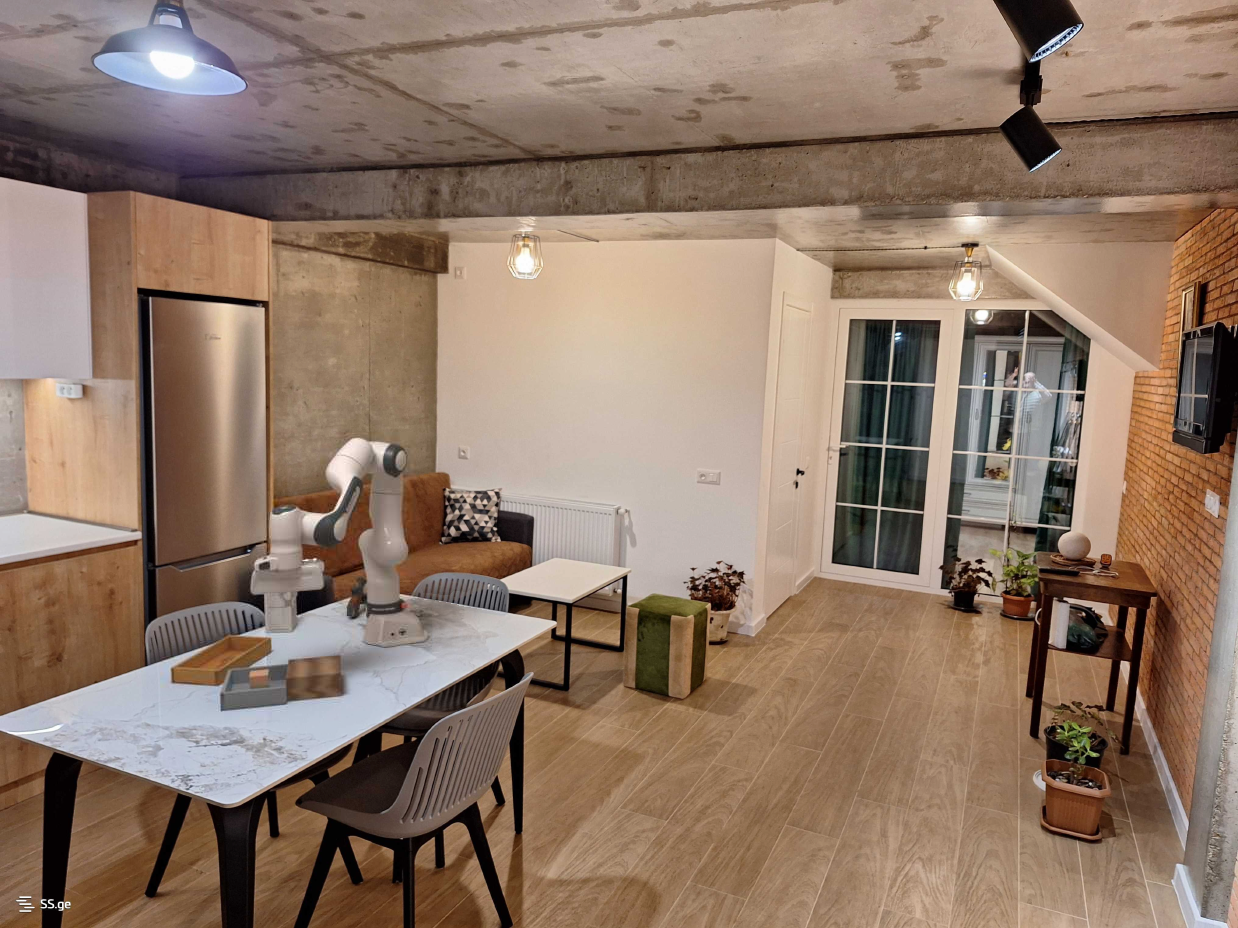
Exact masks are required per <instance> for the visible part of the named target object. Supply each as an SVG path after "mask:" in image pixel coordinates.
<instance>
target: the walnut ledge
mask: <svg viewBox="0 0 1238 928" xmlns="http://www.w3.org/2000/svg"><path fill="white" fill-rule="evenodd" d="M341 660H342V659H341V654H339V655H329V656H328V655H327V656H317V657H306V658H303V657H302V658H294V659H288V660H287V664H288V668H287V675H286V699H287V702H296V701H306V700H315V699H328V698H334V697H342V666H341V665H342V663H341V662H342V661H341ZM287 702H286V703H287Z"/></svg>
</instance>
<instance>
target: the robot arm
mask: <svg viewBox="0 0 1238 928" xmlns="http://www.w3.org/2000/svg"><path fill="white" fill-rule="evenodd" d="M407 464H408V454H407V451H406V449H405V448H404V447H403V446H401V445H400V444H396V443H388V442H383V441H368V440H366V439H364V438H361V437H354V438H351V439H349V440H348V441H347V442H346V443H345V444H344V445H343V446H342V447H341V448H340V449H339V450H338V451H337V453H336V454H335V455H334V457H333V458H332V459H331V460H330V462H329V463H328V465H327V467H326V470H325V477H326V478H325V479H326V481H327V483H328V484H329V485H330V487H331V488H332V489H333V490H334V491H336V492H337V493H340V496H339V498H338V500H337V502H336V504H335V507H334V508H333V510H332V511H331V512H327V513H320V512H319V513H317V512H309V511H305V510H302V509H300V508H299V506H298V505H295V504H284V505H279V506H276V507H274V508H273V509H272V510H271V512H270V515H269V522H268V537H269V541H270V549H269V555H266V556H263V557H260V558H257V559H256V560H255V562H254V563H253V564H254V565H253V567H254V570H253V572H252V574H251V578H250V579H251V580H250V593H251V594H252V595H254V596H257V595H264V594H271V593H279V597H280V599H281V600H282V601H283V607H289V606H294V600H295V598H296V599H297V596H298V592H304V591H305V592H306V591H316V590H319V591H320V590H322V589H323V588H324V587H325V582H324V575H323V574H324V571H325V562H324V561H323V560H322V559H319V558H312V559H311V558H304V557H303V546H302V545H303V544H304V545H308V546H309V545H310V546H318V547H323V548H327V549H334V548H336V547H338V546H339V545H341V543H343V541H344V540H345V537H346V536H347V533H348V528H349V526H350V522H351V519H352V517H353V515H354V513H355V511H356V509H357V506H358V504H359V502H360V499H361V497H362V495H363V490H364V483H363V480H362V479H364V478H363V477H364V476H365V475H366V474H371V475H372V477H371V482H370V483H371V484H370V492H369V493H370V494H369V504H368V505H369V506H368V507H369V508H368V514H369V515H368V516H369V518H370V521H371V526H372V528H369V529H366V530H365V531H363V532H362V533H361V534H360V536H359V538H358V541H357V542H358V546H359V549H360V552H361V556H362V561H363V567H364V571H365V576H366V577H365V579H367V601H366V604H365V616H366V622H365V628H364V629H365V631H364V634H363V638H362V640H363V642H364V643H365V644H369V645H371V646H372V645H374V646H379V647H382V648H388V647H389V648H390V647H395V646H402V645H408V644H409V645H410V644H415V643H423V642H426V641H427V640H428V639H429V633H428V631H427V629H425V628H423V627H422V622H421V620H420V619H419V617H418V616H417V615H415V614H414V613H413V612H411V611H410V610H408V603H407V602H406V601H405V600H404V599H403V598H401V597H400V577H399V573H398V571H397V568H396V566H398V565H401V564H402V563H404V561H406V559H407V557H408V555H409V546H408V544H407V542H406V538H405V533H404V532H405V531H404V525H403V516H402V515H403V513H402V512H403V499H404V497H403V496H404V495H403V493H404V477H403V476H404V475H403V472H404V471H405V469H406V467H407ZM284 592H292V595H293V597H292V599H289V600H286V599H285V598H284Z"/></svg>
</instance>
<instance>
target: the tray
mask: <svg viewBox="0 0 1238 928" xmlns="http://www.w3.org/2000/svg"><path fill="white" fill-rule="evenodd" d="M270 653H272V637H266V636H265V637H264V636H251V635H250V636H249V635H232V634H229V635H227V636H225V637H223V638H221V639H220V640H218V641H216V642H215V643H213V644H212V645H210V646H208V647H206V648H203V649H202V650H200V651H199V652H197V653H195V654H192V656H190V657H188V658H186V659H185V660H182V661H180V662H179V663H177V664H175V665H174V666H172V667H170V672H171V673H170V675H171V684H177V685H178V684H179V685H193V686H208V687H209V686H210V687H220V686H221V685H223V684H224V681H225V678H226V675H227V672H228V669H237V668H248V667H251V665H253V664H255V663H256V662H258V661H259V660H261V659H263V657H266V656H267V655H268V654H270Z"/></svg>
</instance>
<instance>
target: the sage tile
mask: <svg viewBox="0 0 1238 928" xmlns="http://www.w3.org/2000/svg"><path fill="white" fill-rule="evenodd" d="M262 688H270V679H269V683H268V685H264V686H254V687H250V690H252V689H262Z"/></svg>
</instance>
